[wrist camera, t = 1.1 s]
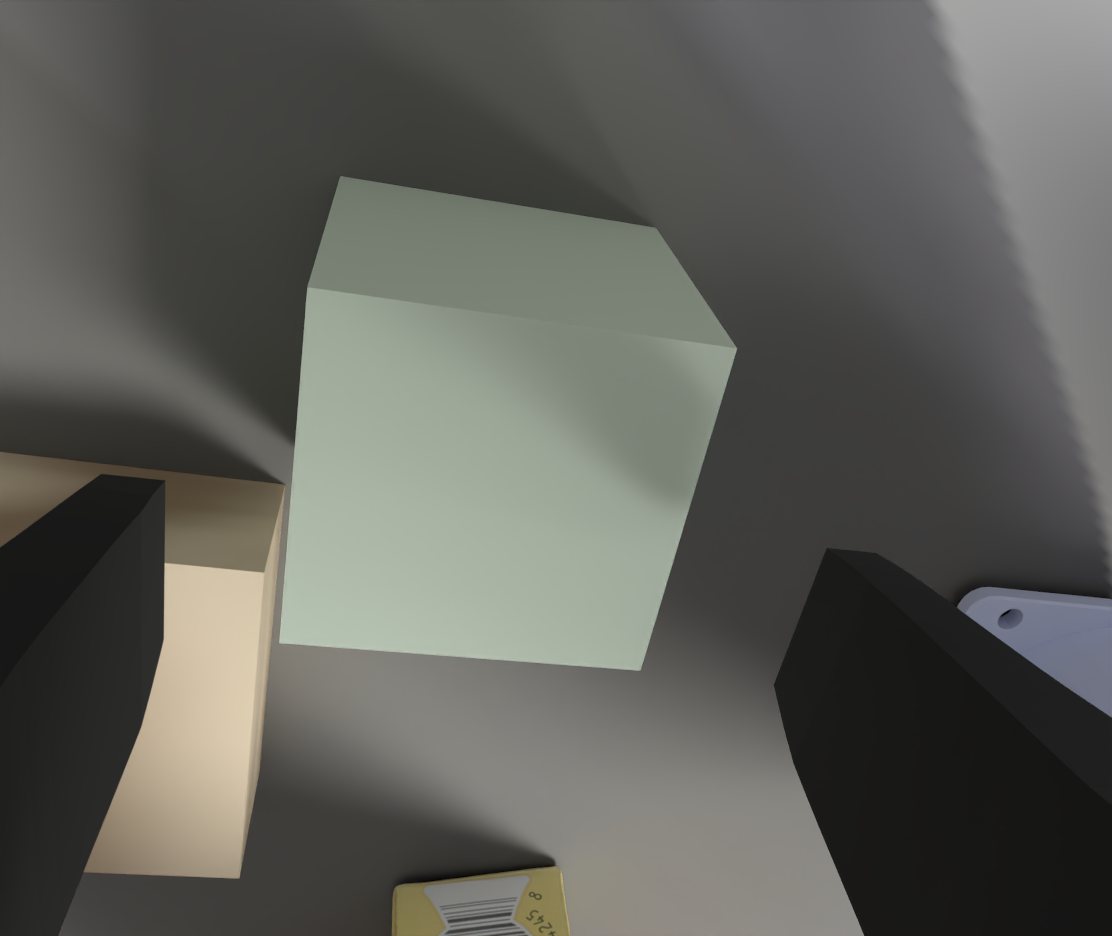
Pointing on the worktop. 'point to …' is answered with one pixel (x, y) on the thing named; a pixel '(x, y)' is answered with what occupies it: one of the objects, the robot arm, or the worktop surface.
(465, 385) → the sage cube
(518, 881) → the candy box
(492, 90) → the worktop surface
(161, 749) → the beech block
